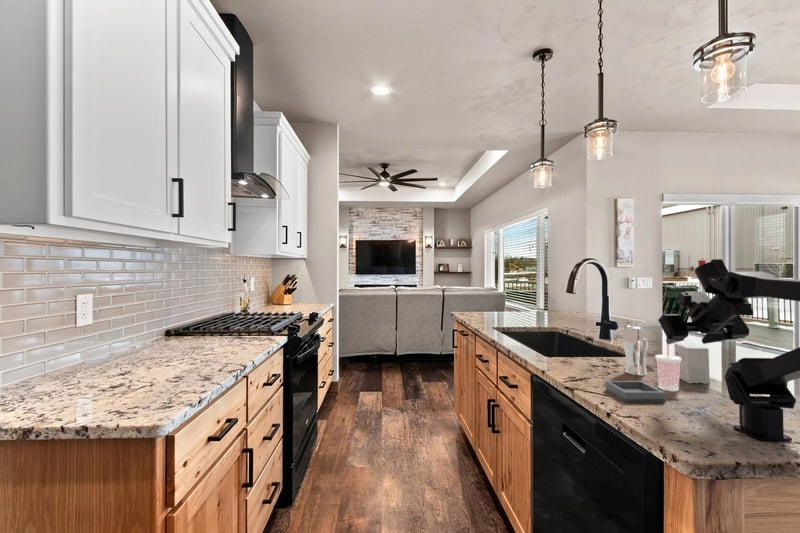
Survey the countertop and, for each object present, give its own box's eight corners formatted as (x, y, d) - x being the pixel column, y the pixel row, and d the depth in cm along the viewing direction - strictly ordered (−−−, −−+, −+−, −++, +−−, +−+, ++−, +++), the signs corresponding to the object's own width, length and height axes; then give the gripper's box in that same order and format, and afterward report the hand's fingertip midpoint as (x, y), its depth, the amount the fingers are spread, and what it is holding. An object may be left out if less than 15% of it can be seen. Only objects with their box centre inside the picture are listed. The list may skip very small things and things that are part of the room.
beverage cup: (673, 385, 111) (672, 337, 111) (687, 392, 105) (686, 341, 105) (651, 385, 111) (650, 337, 111) (663, 391, 105) (662, 341, 105)
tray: (665, 402, 97) (665, 392, 97) (625, 402, 98) (625, 392, 98) (642, 389, 107) (641, 380, 107) (605, 389, 108) (605, 381, 108)
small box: (710, 384, 111) (709, 348, 111) (688, 383, 112) (687, 348, 112) (694, 377, 119) (694, 343, 119) (674, 376, 120) (674, 342, 120)
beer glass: (618, 372, 126) (617, 326, 126) (632, 369, 129) (631, 324, 129) (639, 377, 119) (638, 329, 119) (653, 374, 122) (652, 327, 122)
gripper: (741, 281, 94) (705, 315, 106) (664, 283, 94) (637, 317, 106) (769, 320, 87) (727, 352, 99) (685, 321, 87) (654, 353, 99)
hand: (685, 342), depth 101 cm, fingers open, 9 cm apart
